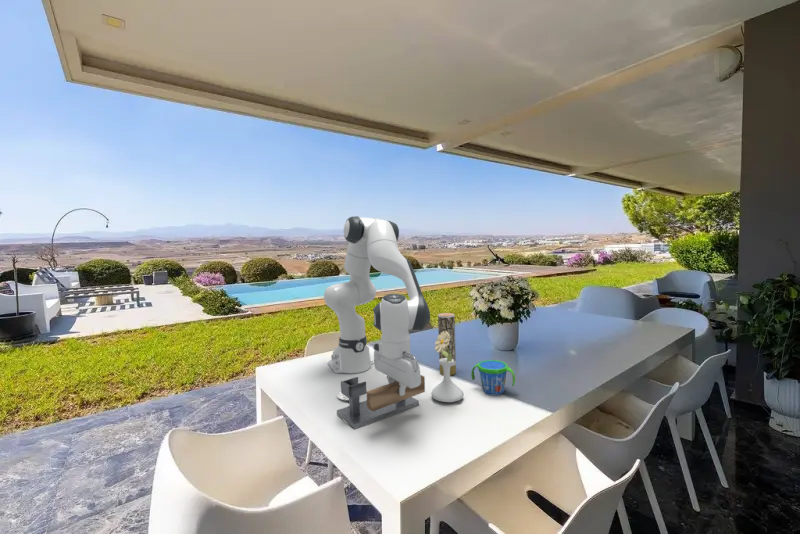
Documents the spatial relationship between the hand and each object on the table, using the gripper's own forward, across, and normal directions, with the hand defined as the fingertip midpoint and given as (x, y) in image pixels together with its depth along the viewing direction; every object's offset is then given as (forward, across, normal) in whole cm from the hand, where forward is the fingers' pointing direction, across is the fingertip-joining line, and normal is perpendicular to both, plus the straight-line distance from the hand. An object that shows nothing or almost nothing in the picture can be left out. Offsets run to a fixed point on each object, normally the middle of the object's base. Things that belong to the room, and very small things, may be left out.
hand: (397, 392), depth 111 cm
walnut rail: (+2, 0, 0) cm, 2 cm away
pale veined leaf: (+11, +26, +3) cm, 29 cm away
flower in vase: (+10, +3, -23) cm, 25 cm away
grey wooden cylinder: (+10, +21, -40) cm, 46 cm away
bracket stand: (+10, +12, 0) cm, 15 cm away
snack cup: (+10, -3, -40) cm, 42 cm away
